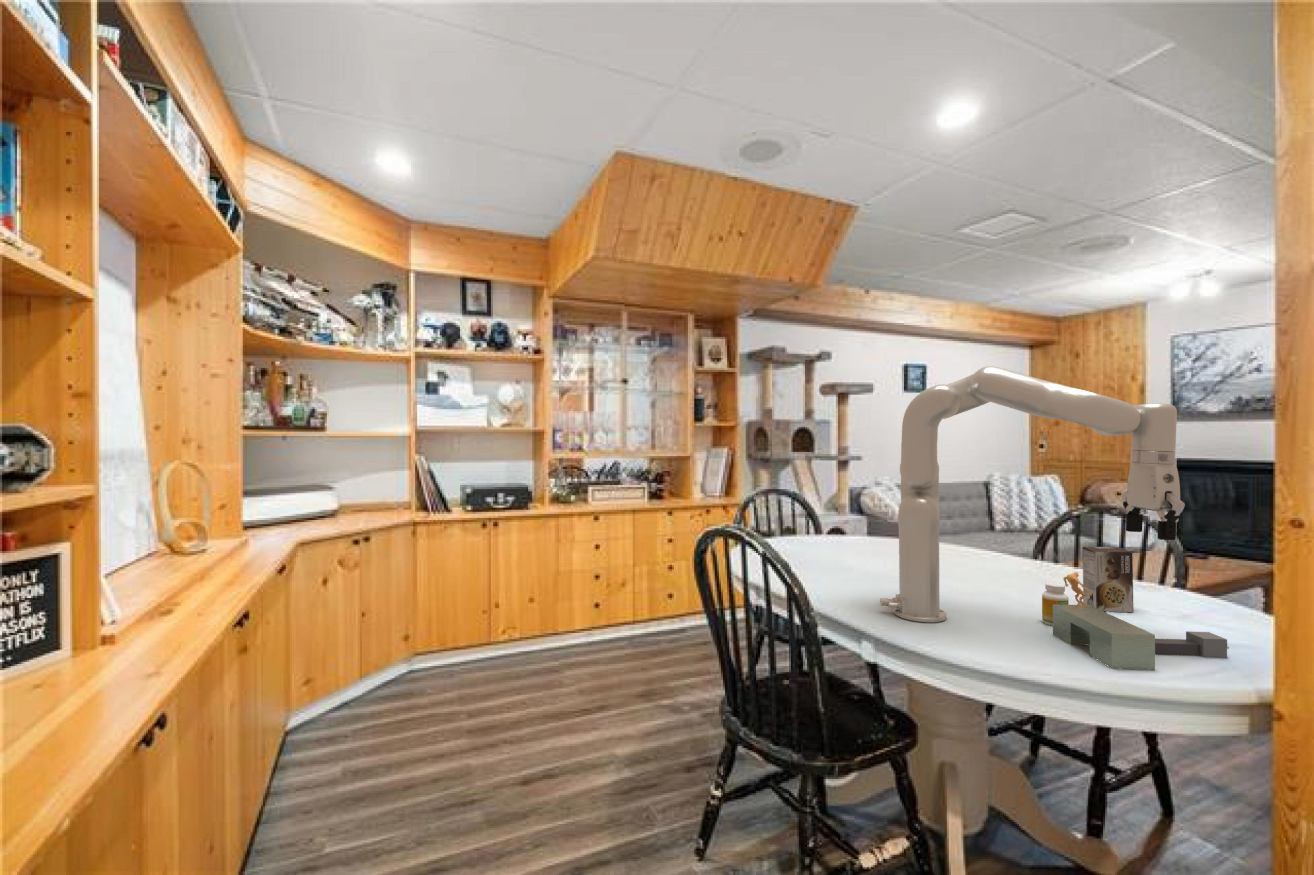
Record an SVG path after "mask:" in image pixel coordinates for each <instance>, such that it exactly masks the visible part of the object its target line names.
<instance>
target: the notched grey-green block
mask: <svg viewBox="0 0 1314 875" xmlns="http://www.w3.org/2000/svg"><path fill="white" fill-rule="evenodd" d="M1052 635H1054V636H1055V637H1057V638H1059V640H1062V641H1064V642H1066V643H1068V644H1069V645H1070V644H1071V646H1072V645H1073V646H1089V656H1090V657H1091V656H1092V657H1091V658H1093V657H1094V658H1095V659H1094V658H1093V659H1094V660H1096V659H1098V660H1099V661H1101V662H1102V663H1101V662H1100V663H1101V664H1103V663H1104V665H1105V664H1106V665H1108V666H1109V668H1110V667H1111V668H1123V669H1122V670H1137V669H1155V670H1156V655H1155V639H1156V635H1155V634H1154V633H1152V632H1150V631H1148V630H1145V629H1144V628H1141V627H1138V626H1136V625H1134V624H1132V623H1130V622H1128V621H1125V620H1124V619H1121V618H1118V617H1116V616H1114V615H1112V614H1110V613H1107V612H1104V611H1101V610H1099V609H1097V608H1094V607H1092V606H1090V605H1077V604H1069V605H1060V604H1053V626H1052ZM1076 644H1077V645H1076ZM1098 660H1097V661H1098ZM1099 661H1098V662H1099ZM1106 665H1105V666H1106ZM1108 666H1107V667H1108ZM1111 668H1110V669H1111Z"/></svg>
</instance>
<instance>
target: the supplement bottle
mask: <svg viewBox="0 0 1314 875" xmlns="http://www.w3.org/2000/svg"><path fill="white" fill-rule="evenodd" d="M1044 585H1045V586H1044V587H1045V590H1046V591H1043V592H1042V594H1041V595H1042V596H1041V621H1042V622H1043V624H1046V625H1049V626H1052V627H1053V604H1060V605H1070V604H1069V602H1070V600H1069V595H1068V594H1066V593H1065V592H1066V586H1065V584H1063V583H1057V582H1046V583H1045V584H1044Z"/></svg>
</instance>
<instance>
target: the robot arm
mask: <svg viewBox="0 0 1314 875" xmlns="http://www.w3.org/2000/svg"><path fill="white" fill-rule="evenodd" d="M988 403H993V404H997V405H999V406H1003V407H1006V408H1010V409H1013V410H1017V411H1020V412H1022V413H1026V414H1028V415H1032V416H1036V417H1040V418H1043V419H1044V418H1047V419H1054V420H1055V419H1056V420H1060V421H1067V422H1070V423H1072V424H1077V425H1081V426H1085V427H1088V428H1090V429H1091V430H1092V431H1093V432H1095V433H1096V434H1098V435H1101V436H1107V437H1111V436H1112V437H1113V436H1119V437H1120V436H1125V435H1131V442H1130V449H1131V450H1130V467H1129V471H1128V477H1127V485H1126V491H1124V492H1122V493H1121V500H1122V507H1123V508H1124V514H1126V515H1125V516H1126V517H1125V531H1126V532H1129V533H1131V532H1132V533H1141V532H1143V520H1144V519H1143V517H1144V515H1143V514H1141V513H1142V512H1143V511H1144V510H1146V511H1152V512H1156V513H1157V515H1158V517H1159V519H1160V520H1157V539H1158V540H1160V541H1162V540H1163V541H1175V540H1176V537H1177V536H1176V533H1177V532H1176V531H1177V523H1178V522H1179V520H1180V519H1179V518H1180V517H1181V516H1182V514H1183V513H1182V512H1183V510H1184V508H1185V506H1186V504H1185V502H1183V501H1182V500H1181V486H1180V484H1181V483H1180V476H1179V471H1178V467H1177V466H1176V448H1177V446H1176V444H1177V443H1176V442H1177V418H1178V411H1177V408H1176V406H1174V405H1173V404H1169V403H1168V404H1167V403H1142V404H1141V403H1140V404H1137V405H1133V404H1131V403H1130V402H1126V401H1124V400H1121V399H1117V398H1114V397H1111V396H1108V395H1103V394H1099V393H1096V392H1092V391H1091V392H1090V391H1087V390H1084V389H1079V388H1077V387H1072V386H1068V385H1065V384H1061V383H1057V382H1053V381H1048V380H1045V379H1041V378H1038V377H1034V376H1031V375H1026V374H1023V373H1020V372H1017V371H1013V370H1009V369H1006V368H1002V367H999V366H993V365H989V366H988V365H987V366H983V367H981V368H979V369H977V371H975V372H974V373H972V374H970V375H968V376H966V377H962V378H960V379H958V380H956V381H953V382H951V383H947V384H936V385H933V386H931V387H928V388H927V389H925V390H923V391H921V392H920V393H919V394H917V395H916V396H915V397H914V398H913V399H912V400H911V401H910V402H909V404H908V405H907V408H906V409H905V411H904V413H903V414H904V415H903V418H902V422H901V423H902V424H901V425H902V426H901V444H900V445H901V446H900V451H901V452H900V464H899V475H900V504H899V506H898V513H897V520H898V521H897V522H898V556H899V558H898V563H899V564H898V568H899V569H898V570H899V572H898V575H899V576H898V578H899V580H898V581H899V582H898V584H899V585H898V588H899V589H898V590H899V594H897V593H895V597H894V596H893V597H892V598H887V597H886V598H885V597H882V598H880V599H879V604H880V606H882V607H888V608H889V609H891V608H892V613H893V614H894V616H897V617H899V618H901V619H904V620H908V621H911V622H912V621H913V622H921V623H939V622H943V621H945V620H946V619H947V613H946V611H944V610H942V609H941V608H940V607H941V606H940V524H941V522H940V521H941V520H940V519H941V517H940V516H941V515H940V514H941V513H940V503H939V502H940V500H939V496H940V493H939V492H940V489H939V488H940V485H939V484H940V481H939V480H940V465H939V462H938V438H939V437H938V435H939V434H938V430H939V426H940V423H941V422H942V420H944V419H945V420H946V419H949V418H952V417H955V416H957V415H959V414H961V413H965V412H968V411H971V410H973V409H975V408H978V407H981V406H984V405H986V404H988Z"/></svg>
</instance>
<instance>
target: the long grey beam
mask: <svg viewBox="0 0 1314 875" xmlns="http://www.w3.org/2000/svg"><path fill="white" fill-rule="evenodd" d="M1229 649H1230V646H1228V638H1225V637H1222V636H1219V635H1218V634H1215V633H1212V632H1210V631H1185V639H1184V638H1183V639H1182V638H1155V656H1181V657H1182V656H1183V657H1186V656H1187V657H1201V658H1204V659H1205V658H1207V659H1228V650H1229Z"/></svg>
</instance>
